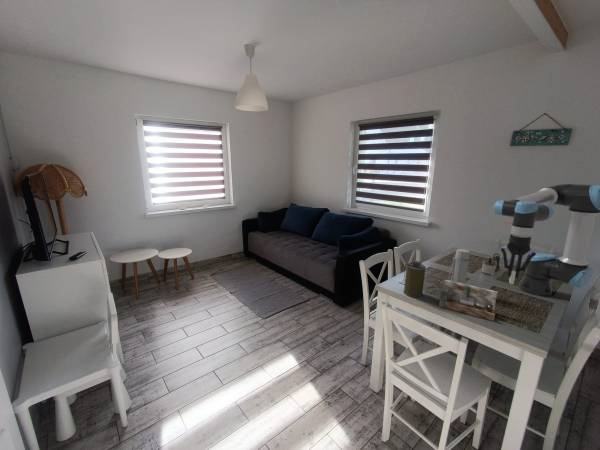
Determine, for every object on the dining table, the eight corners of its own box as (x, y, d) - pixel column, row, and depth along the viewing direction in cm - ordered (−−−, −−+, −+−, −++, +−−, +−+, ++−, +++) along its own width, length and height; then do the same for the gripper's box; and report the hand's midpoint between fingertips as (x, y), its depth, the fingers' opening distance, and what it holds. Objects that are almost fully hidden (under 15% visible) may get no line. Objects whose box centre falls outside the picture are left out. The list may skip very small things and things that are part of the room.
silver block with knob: (491, 310, 135) (494, 293, 133) (491, 314, 131) (494, 298, 129) (460, 301, 143) (462, 286, 141) (459, 306, 138) (461, 290, 136)
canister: (423, 292, 157) (427, 260, 153) (421, 299, 148) (425, 266, 144) (404, 287, 163) (407, 257, 158) (401, 294, 154) (404, 262, 149)
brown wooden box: (493, 312, 137) (497, 291, 134) (493, 321, 129) (498, 299, 126) (441, 298, 150) (444, 279, 147) (438, 306, 142) (441, 286, 139)
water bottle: (461, 287, 164) (468, 249, 158) (466, 293, 156) (472, 253, 151) (445, 285, 166) (451, 247, 160) (448, 291, 159) (454, 251, 153)
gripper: (538, 235, 120) (528, 283, 126) (502, 231, 127) (494, 277, 133) (541, 239, 114) (530, 289, 120) (503, 235, 121) (494, 282, 127)
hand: (511, 282), depth 126 cm, fingers closed
